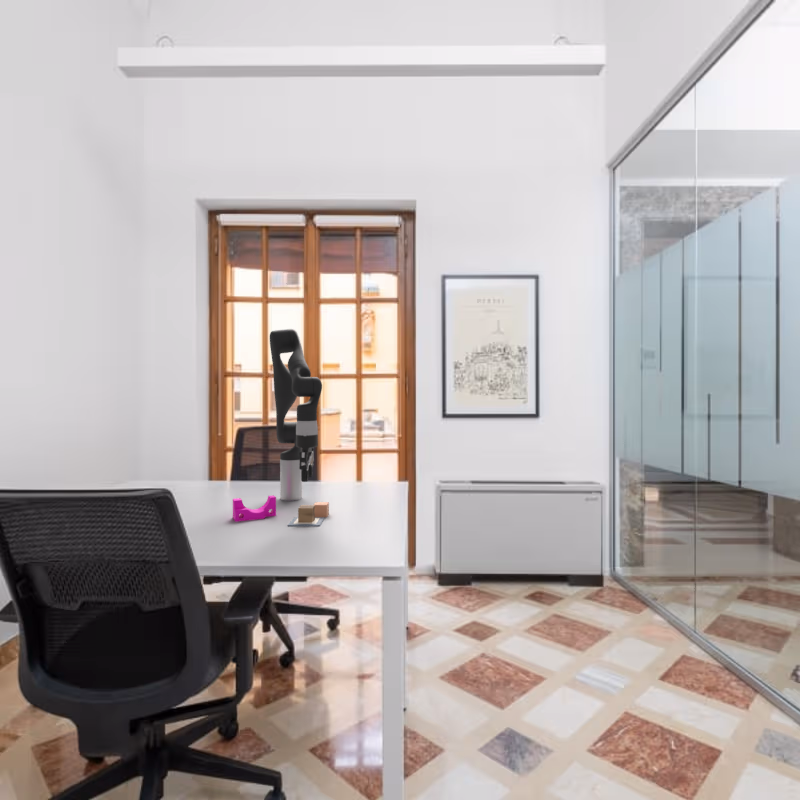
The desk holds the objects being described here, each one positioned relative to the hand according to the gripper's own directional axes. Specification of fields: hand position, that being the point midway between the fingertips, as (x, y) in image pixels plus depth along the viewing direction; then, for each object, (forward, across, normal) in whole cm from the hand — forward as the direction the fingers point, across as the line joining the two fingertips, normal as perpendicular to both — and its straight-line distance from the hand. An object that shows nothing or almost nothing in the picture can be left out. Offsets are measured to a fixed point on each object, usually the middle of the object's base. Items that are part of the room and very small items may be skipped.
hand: (306, 479), depth 188 cm
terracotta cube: (+16, -10, +3) cm, 19 cm away
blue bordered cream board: (+16, 0, 0) cm, 16 cm away
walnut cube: (+15, 0, 0) cm, 15 cm away
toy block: (+16, -7, -20) cm, 27 cm away
